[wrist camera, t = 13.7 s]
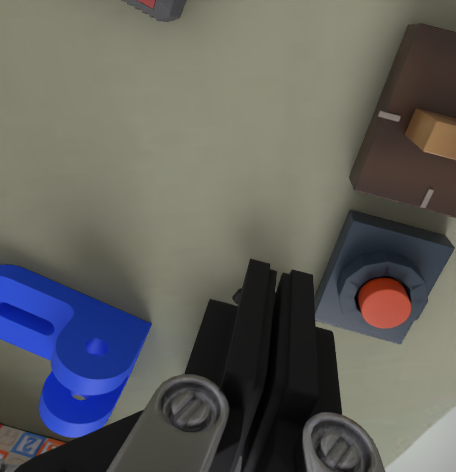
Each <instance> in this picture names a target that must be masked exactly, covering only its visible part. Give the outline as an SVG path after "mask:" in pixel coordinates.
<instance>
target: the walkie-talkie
mask: <svg viewBox="0 0 456 472" xmlns="http://www.w3.org/2000/svg"><path fill="white" fill-rule="evenodd" d="M121 1H125V2H127V4H128V5H132V6H134V7H135V8H136V9H139V10H142V12H143V13H146V14H149V16H150V17H153V18H157V21H164V22H169V21H172V20H175V19H178V18H180V15H181V13H182V10H183V7H184V5H185V2H186V0H121Z"/></svg>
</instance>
